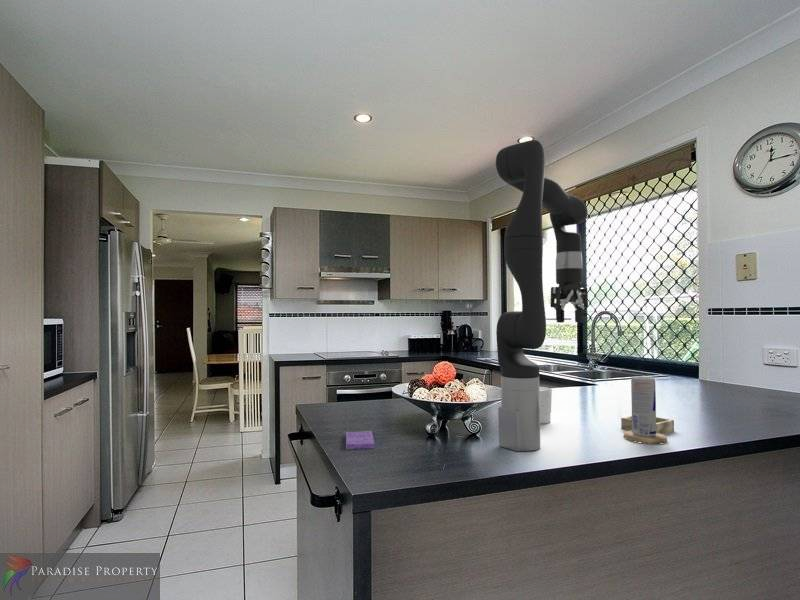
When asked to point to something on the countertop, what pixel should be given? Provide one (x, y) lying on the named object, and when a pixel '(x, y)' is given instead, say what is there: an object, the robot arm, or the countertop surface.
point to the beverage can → (643, 406)
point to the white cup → (545, 404)
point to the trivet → (645, 438)
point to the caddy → (661, 424)
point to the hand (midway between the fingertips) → (569, 322)
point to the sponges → (359, 440)
